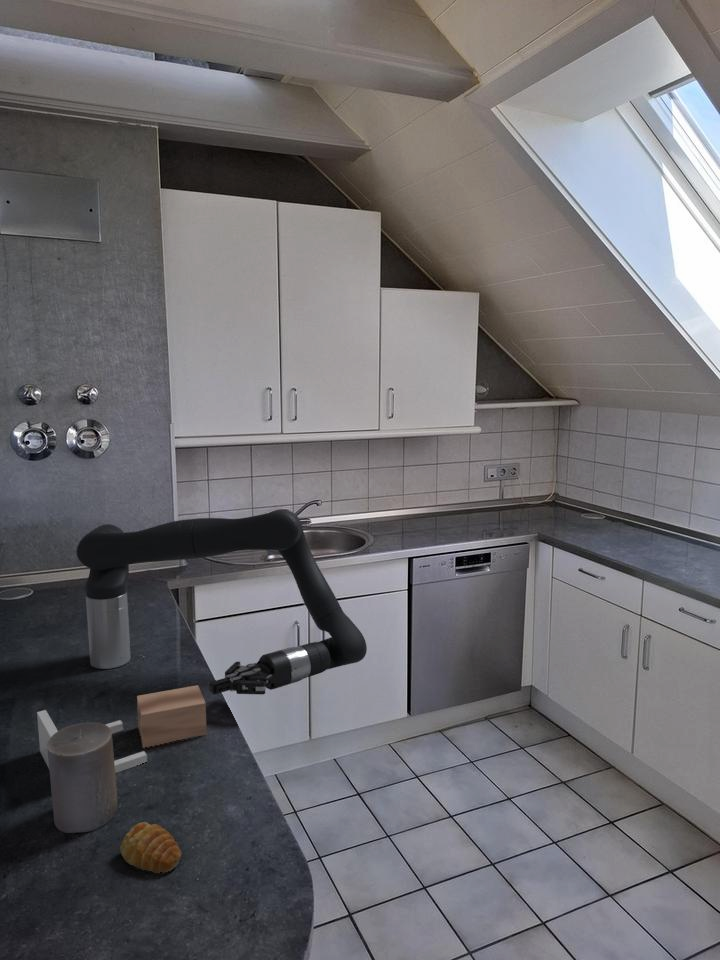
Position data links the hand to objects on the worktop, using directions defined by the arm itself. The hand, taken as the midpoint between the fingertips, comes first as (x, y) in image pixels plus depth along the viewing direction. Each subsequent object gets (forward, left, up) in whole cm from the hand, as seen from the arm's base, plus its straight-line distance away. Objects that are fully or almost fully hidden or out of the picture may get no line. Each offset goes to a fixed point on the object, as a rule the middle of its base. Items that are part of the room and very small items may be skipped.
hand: (211, 688), depth 142 cm
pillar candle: (+16, -30, -7) cm, 34 cm away
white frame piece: (0, -23, -7) cm, 24 cm away
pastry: (+31, -24, -7) cm, 40 cm away
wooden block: (0, -8, -7) cm, 11 cm away
